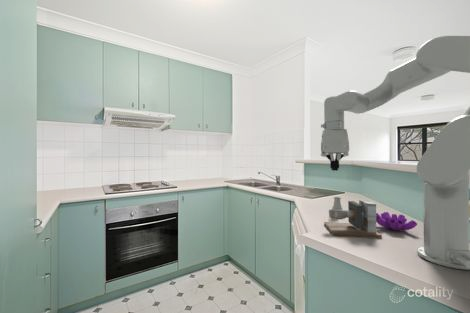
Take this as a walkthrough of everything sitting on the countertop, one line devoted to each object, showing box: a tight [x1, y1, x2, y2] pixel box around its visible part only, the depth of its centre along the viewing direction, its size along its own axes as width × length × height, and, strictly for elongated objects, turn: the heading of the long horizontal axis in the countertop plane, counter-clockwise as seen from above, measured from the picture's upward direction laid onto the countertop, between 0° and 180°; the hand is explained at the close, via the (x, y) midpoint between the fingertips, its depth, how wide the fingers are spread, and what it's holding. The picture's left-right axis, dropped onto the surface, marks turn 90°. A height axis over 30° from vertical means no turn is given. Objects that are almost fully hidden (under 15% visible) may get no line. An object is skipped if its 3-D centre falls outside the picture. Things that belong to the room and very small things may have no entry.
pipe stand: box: [323, 199, 383, 239], centre depth 87 cm, size 14×17×12 cm
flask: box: [331, 196, 344, 219], centre depth 109 cm, size 7×7×10 cm
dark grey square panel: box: [347, 200, 362, 229], centre depth 87 cm, size 9×2×9 cm, turn 171°
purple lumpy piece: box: [376, 211, 418, 231], centre depth 90 cm, size 11×15×10 cm
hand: (334, 170), depth 88 cm, fingers closed
